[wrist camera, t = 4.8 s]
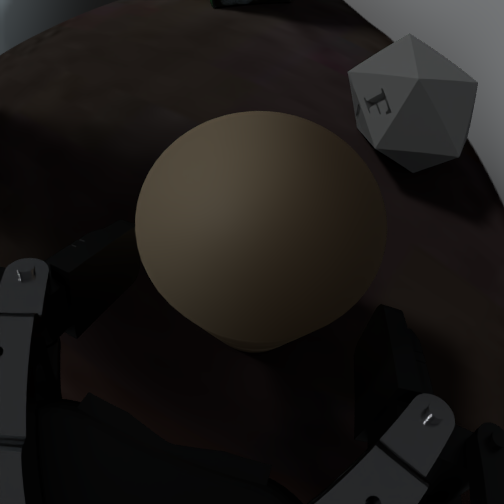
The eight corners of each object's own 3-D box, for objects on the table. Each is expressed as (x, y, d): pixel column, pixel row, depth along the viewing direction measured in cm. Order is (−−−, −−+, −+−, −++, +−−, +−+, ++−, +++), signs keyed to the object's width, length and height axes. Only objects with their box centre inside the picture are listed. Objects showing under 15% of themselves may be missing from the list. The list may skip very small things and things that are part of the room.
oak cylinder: (190, 333, 16) (95, 285, 6) (224, 243, 18) (195, 93, 7) (286, 365, 16) (355, 375, 5) (315, 272, 17) (398, 150, 7)
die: (344, 89, 23) (316, 36, 14) (439, 66, 19) (454, 5, 11) (375, 184, 23) (365, 174, 15) (474, 161, 20) (516, 140, 11)
